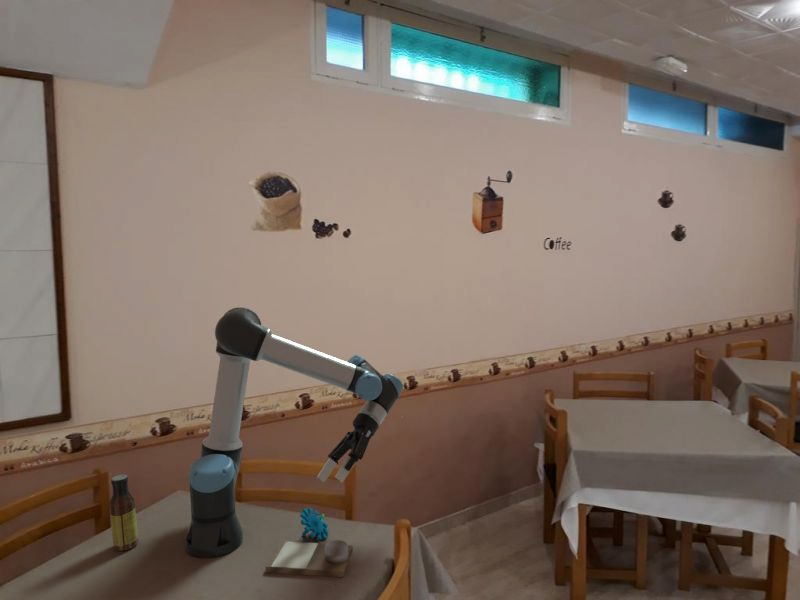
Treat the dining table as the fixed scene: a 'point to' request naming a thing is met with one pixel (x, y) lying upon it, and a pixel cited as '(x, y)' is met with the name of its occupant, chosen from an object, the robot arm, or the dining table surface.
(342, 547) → the wooden board
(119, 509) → the sauce bottle
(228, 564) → the dining table surface
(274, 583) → the dining table surface
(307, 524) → the gear
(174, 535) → the dining table surface
